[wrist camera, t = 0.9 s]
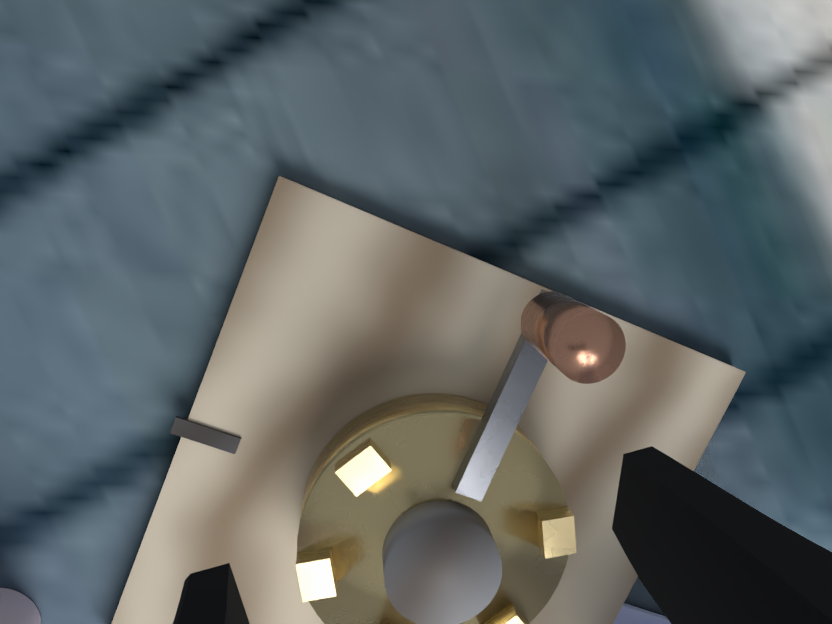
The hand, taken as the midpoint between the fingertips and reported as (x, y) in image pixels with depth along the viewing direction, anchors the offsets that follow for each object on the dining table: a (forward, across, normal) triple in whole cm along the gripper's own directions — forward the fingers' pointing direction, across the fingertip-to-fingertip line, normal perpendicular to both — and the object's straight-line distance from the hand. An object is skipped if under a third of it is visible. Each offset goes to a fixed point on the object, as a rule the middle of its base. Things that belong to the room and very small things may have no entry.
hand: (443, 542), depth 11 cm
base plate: (+14, -3, +14) cm, 20 cm away
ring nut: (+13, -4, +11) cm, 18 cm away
